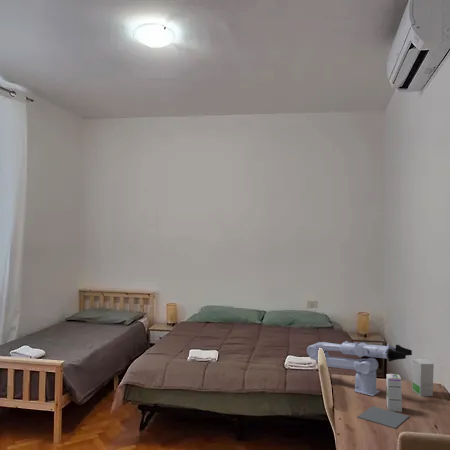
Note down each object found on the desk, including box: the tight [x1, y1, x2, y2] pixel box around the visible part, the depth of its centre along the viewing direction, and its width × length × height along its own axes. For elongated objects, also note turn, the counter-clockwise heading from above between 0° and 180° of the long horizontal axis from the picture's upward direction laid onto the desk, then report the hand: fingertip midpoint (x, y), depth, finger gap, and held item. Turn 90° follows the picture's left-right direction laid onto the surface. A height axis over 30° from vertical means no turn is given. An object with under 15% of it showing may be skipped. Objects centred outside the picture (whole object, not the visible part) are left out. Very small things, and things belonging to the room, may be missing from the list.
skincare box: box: [411, 357, 435, 397], centre depth 217 cm, size 8×7×16 cm
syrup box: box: [385, 373, 403, 413], centre depth 198 cm, size 6×6×14 cm
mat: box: [356, 405, 410, 429], centre depth 190 cm, size 16×15×1 cm
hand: (408, 354), depth 206 cm, fingers open, 7 cm apart
